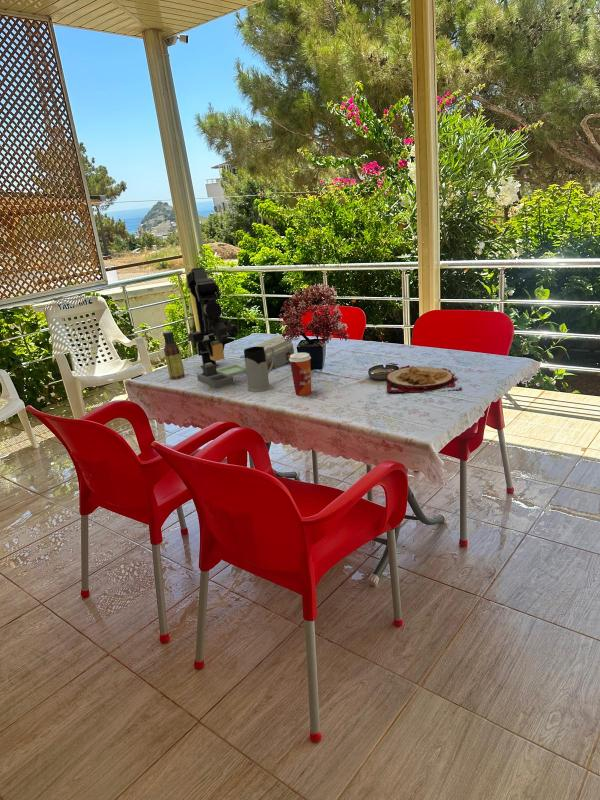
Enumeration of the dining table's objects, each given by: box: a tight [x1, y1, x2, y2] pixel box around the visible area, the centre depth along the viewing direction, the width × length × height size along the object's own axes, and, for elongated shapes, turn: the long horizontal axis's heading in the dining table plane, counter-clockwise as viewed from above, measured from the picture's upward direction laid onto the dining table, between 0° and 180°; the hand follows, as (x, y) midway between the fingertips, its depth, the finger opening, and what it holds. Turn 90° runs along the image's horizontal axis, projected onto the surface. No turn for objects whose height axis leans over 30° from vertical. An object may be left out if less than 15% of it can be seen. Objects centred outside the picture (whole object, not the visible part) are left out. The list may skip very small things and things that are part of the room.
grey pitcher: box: [243, 346, 274, 393], centre depth 206 cm, size 9×14×15 cm, turn 139°
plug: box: [210, 340, 225, 362], centre depth 211 cm, size 4×4×7 cm
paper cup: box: [289, 352, 312, 397], centre depth 194 cm, size 8×8×14 cm
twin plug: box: [201, 363, 217, 377], centre depth 220 cm, size 4×4×7 cm
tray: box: [216, 363, 246, 377], centre depth 229 cm, size 11×11×2 cm
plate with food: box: [385, 362, 463, 393], centre depth 196 cm, size 25×26×4 cm
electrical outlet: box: [239, 336, 300, 371], centre depth 233 cm, size 12×28×10 cm, turn 138°
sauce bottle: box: [162, 330, 185, 381], centre depth 227 cm, size 7×6×20 cm
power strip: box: [196, 370, 235, 390], centre depth 218 cm, size 16×8×3 cm, turn 35°
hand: (216, 355), depth 212 cm, fingers closed on plug, 4 cm apart
